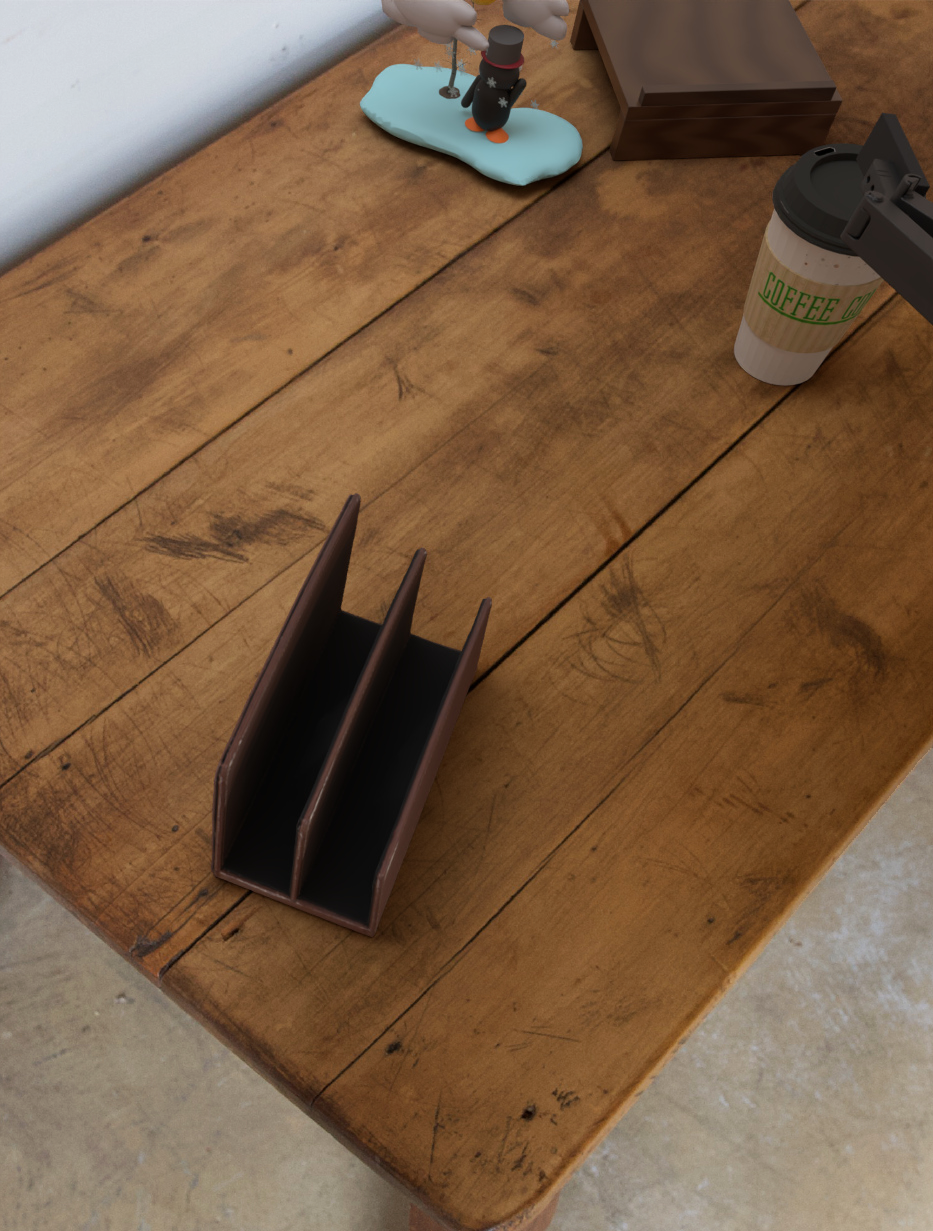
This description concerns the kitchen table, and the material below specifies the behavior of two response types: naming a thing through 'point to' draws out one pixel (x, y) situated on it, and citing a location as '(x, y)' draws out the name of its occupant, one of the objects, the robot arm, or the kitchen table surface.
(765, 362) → the coffee cup
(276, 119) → the kitchen table surface
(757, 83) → the brown wooden stand
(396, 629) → the letter holder
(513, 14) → the penguin figurine
